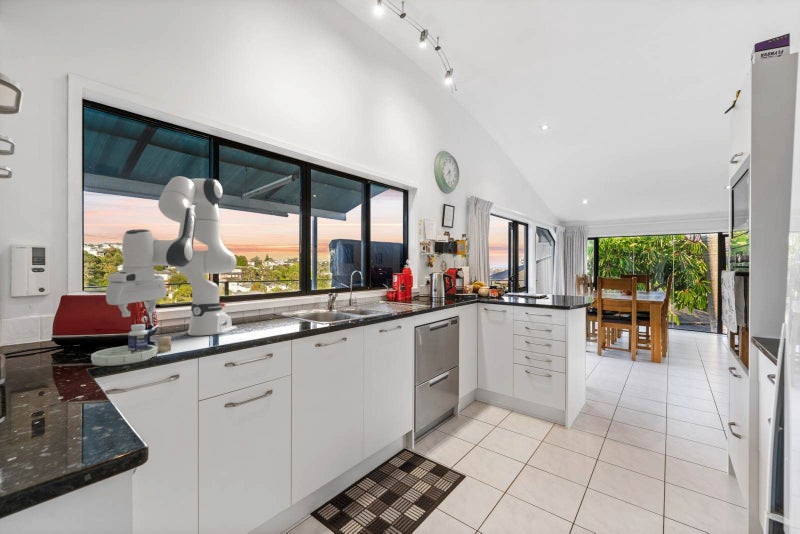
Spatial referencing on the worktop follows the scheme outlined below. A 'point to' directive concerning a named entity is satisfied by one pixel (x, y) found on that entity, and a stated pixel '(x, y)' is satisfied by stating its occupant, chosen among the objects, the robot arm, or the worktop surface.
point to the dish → (121, 356)
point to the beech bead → (164, 344)
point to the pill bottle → (137, 339)
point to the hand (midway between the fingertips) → (138, 314)
